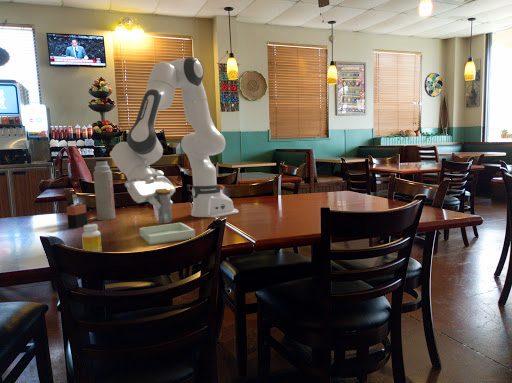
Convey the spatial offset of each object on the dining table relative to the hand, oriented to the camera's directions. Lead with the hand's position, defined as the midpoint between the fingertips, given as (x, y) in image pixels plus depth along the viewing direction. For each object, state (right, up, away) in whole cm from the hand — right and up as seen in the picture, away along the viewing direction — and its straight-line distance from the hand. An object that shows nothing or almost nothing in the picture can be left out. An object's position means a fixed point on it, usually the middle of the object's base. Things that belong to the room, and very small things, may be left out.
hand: (165, 205), depth 137 cm
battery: (-44, -10, +26) cm, 52 cm away
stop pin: (0, -6, +1) cm, 6 cm away
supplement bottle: (-18, -15, -19) cm, 30 cm away
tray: (0, -11, +2) cm, 12 cm away
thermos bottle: (-38, -8, +43) cm, 58 cm away
